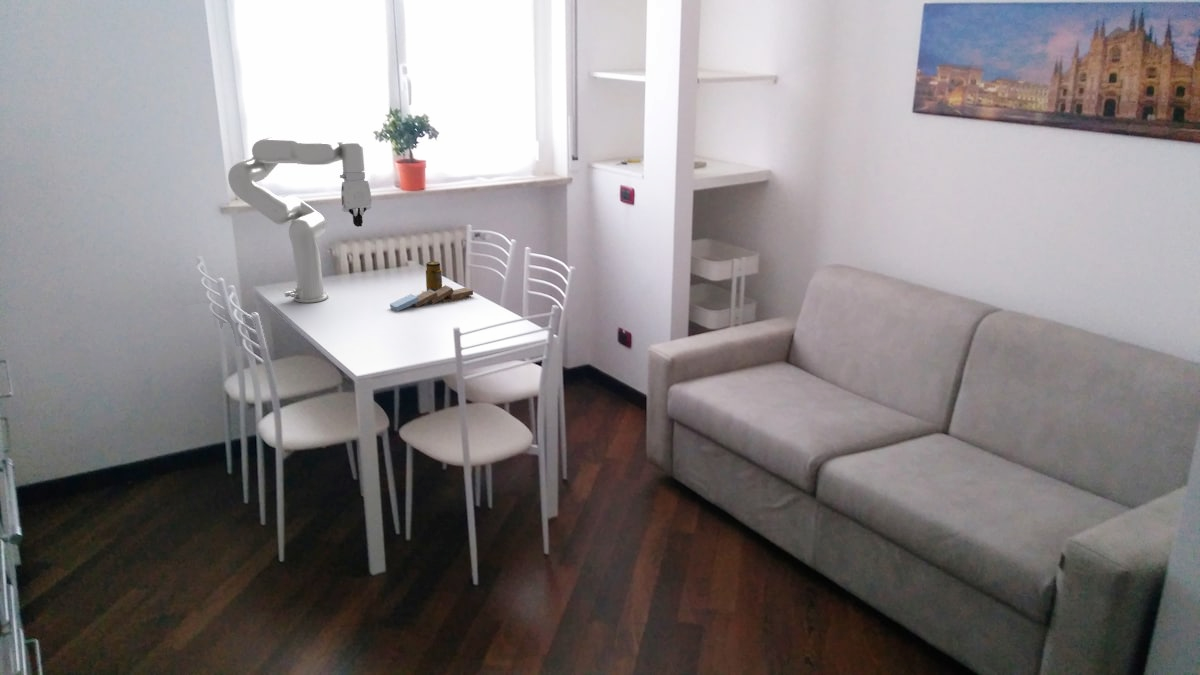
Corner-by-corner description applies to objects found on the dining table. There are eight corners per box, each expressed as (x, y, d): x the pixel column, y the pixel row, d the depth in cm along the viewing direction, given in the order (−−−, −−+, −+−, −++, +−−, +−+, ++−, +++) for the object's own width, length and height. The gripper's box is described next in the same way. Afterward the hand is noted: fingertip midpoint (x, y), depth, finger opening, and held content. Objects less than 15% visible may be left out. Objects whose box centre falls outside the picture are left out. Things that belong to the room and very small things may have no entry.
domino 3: (432, 300, 345) (452, 288, 349) (425, 297, 349) (445, 285, 353) (433, 304, 346) (453, 292, 350) (426, 301, 350) (446, 289, 354)
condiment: (438, 289, 365) (436, 259, 361) (449, 293, 359) (447, 264, 355) (421, 292, 361) (420, 262, 357) (432, 297, 355) (430, 267, 351)
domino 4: (443, 300, 348) (466, 296, 353) (437, 297, 351) (460, 293, 357) (443, 305, 348) (466, 301, 354) (438, 302, 352) (460, 298, 357)
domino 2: (415, 303, 341) (436, 292, 346) (408, 300, 345) (429, 289, 349) (416, 307, 342) (437, 296, 346) (410, 304, 346) (431, 293, 350)
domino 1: (395, 307, 336) (417, 296, 341) (389, 304, 340) (411, 293, 345) (397, 311, 337) (419, 301, 342) (390, 308, 341) (412, 298, 345)
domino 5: (451, 294, 349) (472, 290, 355) (444, 292, 352) (465, 287, 358) (452, 299, 349) (473, 294, 355) (445, 296, 353) (466, 291, 359)
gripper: (338, 179, 326) (343, 230, 332) (377, 175, 335) (381, 225, 341) (330, 176, 332) (334, 226, 338) (369, 173, 340) (372, 221, 347)
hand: (358, 225), depth 339 cm, fingers closed
